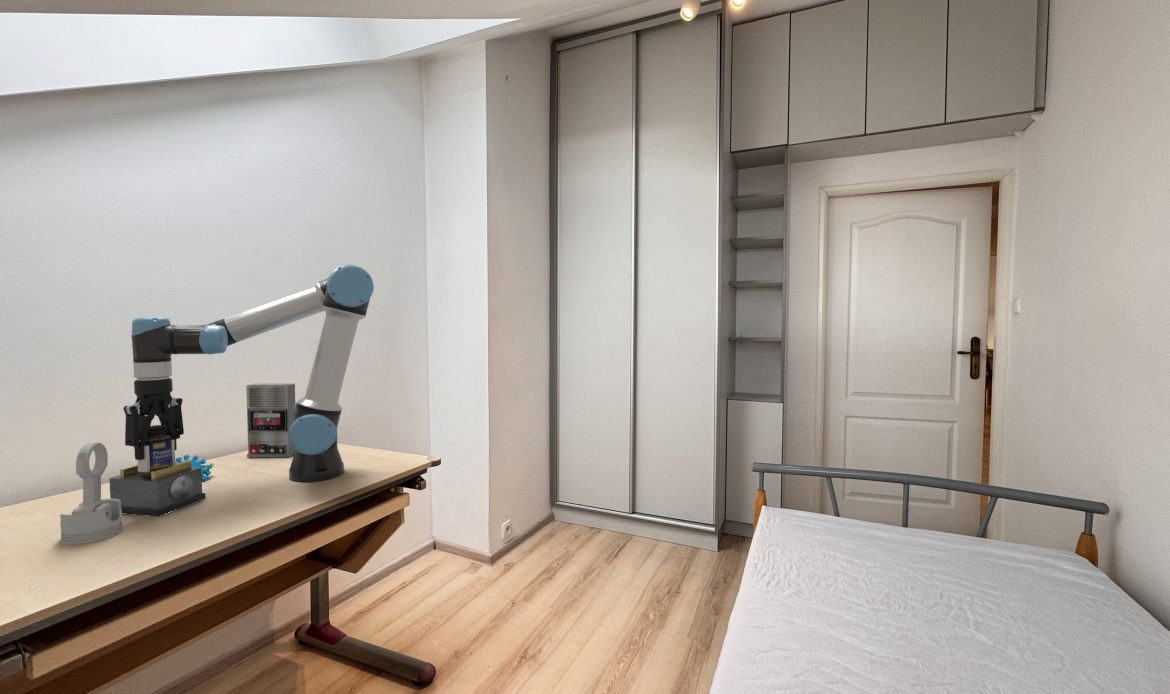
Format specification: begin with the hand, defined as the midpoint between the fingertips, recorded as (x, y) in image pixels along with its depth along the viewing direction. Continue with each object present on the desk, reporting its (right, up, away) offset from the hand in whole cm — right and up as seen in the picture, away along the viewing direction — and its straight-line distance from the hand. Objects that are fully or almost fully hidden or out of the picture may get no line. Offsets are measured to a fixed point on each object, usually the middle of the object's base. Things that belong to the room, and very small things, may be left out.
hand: (157, 467), depth 134 cm
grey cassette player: (+1, -7, +48) cm, 49 cm away
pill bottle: (0, -1, 0) cm, 1 cm away
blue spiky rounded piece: (-6, -9, +20) cm, 23 cm away
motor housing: (0, -10, +1) cm, 10 cm away
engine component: (0, -11, -17) cm, 20 cm away
